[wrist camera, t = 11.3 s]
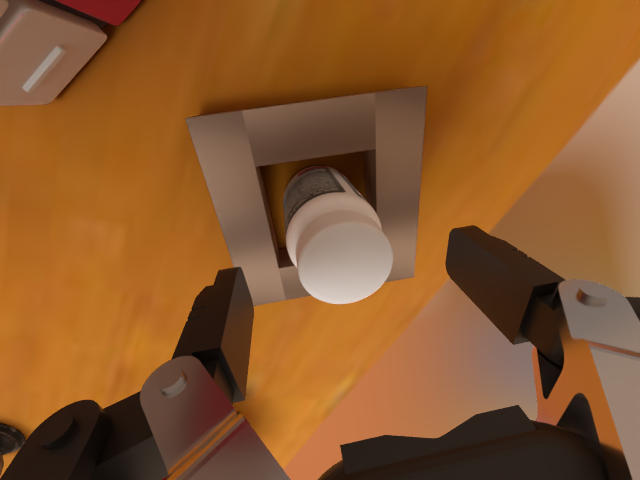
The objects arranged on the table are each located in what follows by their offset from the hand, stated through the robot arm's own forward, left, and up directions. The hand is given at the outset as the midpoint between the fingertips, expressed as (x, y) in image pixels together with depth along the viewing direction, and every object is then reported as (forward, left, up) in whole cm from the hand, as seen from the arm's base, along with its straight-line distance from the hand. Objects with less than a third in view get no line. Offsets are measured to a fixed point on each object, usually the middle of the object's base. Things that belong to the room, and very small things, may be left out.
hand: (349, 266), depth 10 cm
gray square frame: (0, 0, -9) cm, 9 cm away
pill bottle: (0, 0, -9) cm, 9 cm away
